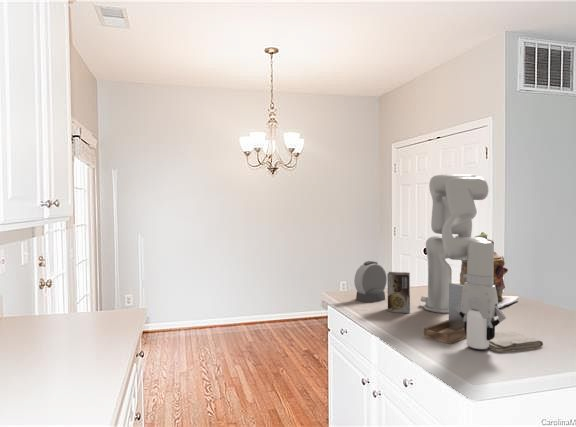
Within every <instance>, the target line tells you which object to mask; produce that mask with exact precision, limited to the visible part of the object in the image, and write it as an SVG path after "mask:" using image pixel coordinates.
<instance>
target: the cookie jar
mask: <svg viewBox="0 0 576 427" xmlns="http://www.w3.org/2000/svg"><path fill="white" fill-rule="evenodd" d="M474 237H478V238H485V239H487V240H488V241H490V242H492V243H493V245H494V246H495V243H494V240H492V239H488V234H486V233H485V232H483V231H482V232H481V233H480V234H479V235H476V236H474ZM460 261H461V265H460V266H461V268H460V273H459V285H464V283H465V282H467V281H466V278H464V277H463V275H464V274H467V260H460ZM505 264H506V263H505V258H504V255H499V254H498V253H497V252H495V251H494V270H493V275H494V276H493V285H495V287H496V291H497V298H498V308H499V309H500V308H503V307H505V306H509V305H511V304H514V303H516V302H518V301H519V298H520V297H519V296H515V295H503V293H504V289H505V288H506V286H505V281H504V275H505V274H507V273H508V271H509V269H508V268H507V267H505Z"/></svg>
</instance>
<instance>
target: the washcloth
mask: <svg viewBox="0 0 576 427" xmlns="http://www.w3.org/2000/svg"><path fill="white" fill-rule="evenodd" d="M543 342H544V341H543V340H540V339H536V338H535V337H531V336H527V335H524V334H522V333H519V332H517V331H513V330H509V331H505V332H504V331H498V332H497V331H495V336H494V338H493V339H491V340H489V347H488V348H487V349H490V350H491V351H493V352H497V353H499V352H500V353H503V352H505V353H506V352H513V351H522V350H530V349H537V348H539V349H540V348H542V347H543V346H544V343H543Z"/></svg>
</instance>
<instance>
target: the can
mask: <svg viewBox="0 0 576 427" xmlns="http://www.w3.org/2000/svg"><path fill="white" fill-rule="evenodd" d="M487 327H489V326H488V323H487V319H484V318H482V315H481V314H480V311H477V310H472V309H470V310H469V312H468V313H467V338H466V345H467V347H469V348H472V349H475V350H487V349H489V348H488V347H489V340H487Z"/></svg>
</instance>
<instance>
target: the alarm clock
mask: <svg viewBox="0 0 576 427" xmlns="http://www.w3.org/2000/svg"><path fill="white" fill-rule="evenodd" d="M387 283H388V281H387V272H386V270H385V269H384V267H383V266H382V265H381V264H378V262H377V261H373V260H368V261H365V262H363V264H361V265H360V266H359V267H358V268H357V270H356V271H355V275H354V286H355V287H354V288H355V290H356V295H355V296H356V297H355V300H356V301H359V302H362V303H366V304H368V303H379V302H383V301H386V294H385V289H386V286H387Z"/></svg>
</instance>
